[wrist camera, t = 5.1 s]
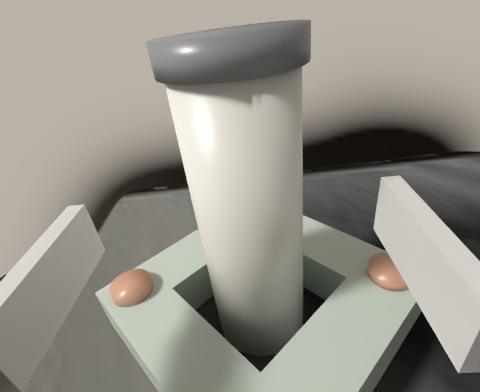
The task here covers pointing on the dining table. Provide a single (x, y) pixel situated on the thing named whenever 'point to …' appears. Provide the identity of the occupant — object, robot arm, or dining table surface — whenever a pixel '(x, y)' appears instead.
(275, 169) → the cylinder
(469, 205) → the dining table surface
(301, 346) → the frame
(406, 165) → the dining table surface
